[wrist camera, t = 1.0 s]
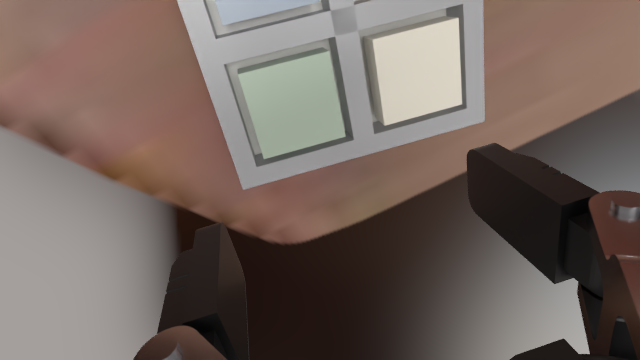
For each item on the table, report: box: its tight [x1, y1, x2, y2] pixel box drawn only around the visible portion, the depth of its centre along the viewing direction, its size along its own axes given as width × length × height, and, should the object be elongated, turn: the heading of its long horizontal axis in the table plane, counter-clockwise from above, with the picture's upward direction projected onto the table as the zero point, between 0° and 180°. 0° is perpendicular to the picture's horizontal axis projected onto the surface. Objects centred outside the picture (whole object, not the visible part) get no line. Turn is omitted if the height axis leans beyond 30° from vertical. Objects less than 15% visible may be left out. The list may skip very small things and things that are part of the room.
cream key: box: [363, 16, 462, 126], centre depth 23 cm, size 5×5×2 cm
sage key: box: [238, 47, 346, 159], centre depth 22 cm, size 5×5×2 cm
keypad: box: [177, 0, 485, 190], centre depth 22 cm, size 16×16×4 cm
